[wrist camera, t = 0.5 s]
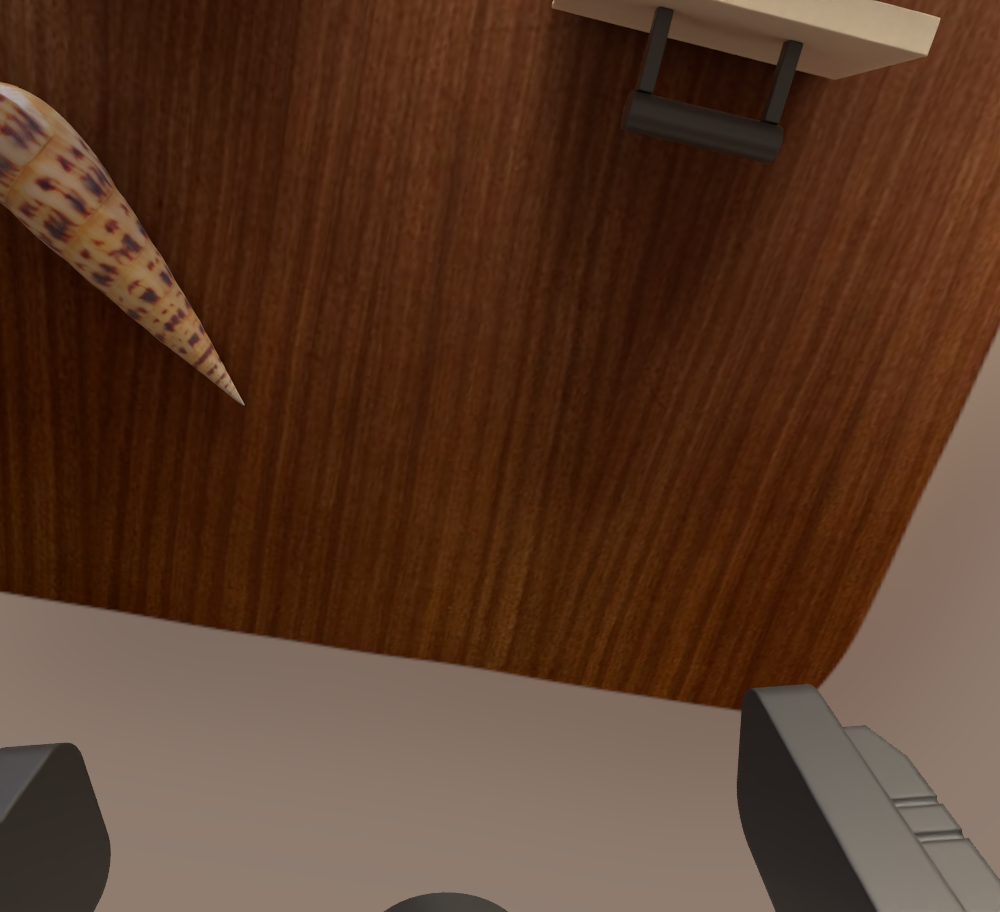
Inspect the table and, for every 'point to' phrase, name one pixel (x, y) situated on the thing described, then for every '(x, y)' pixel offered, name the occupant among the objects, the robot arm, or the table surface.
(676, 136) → the drawer
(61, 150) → the seashell
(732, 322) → the table surface
